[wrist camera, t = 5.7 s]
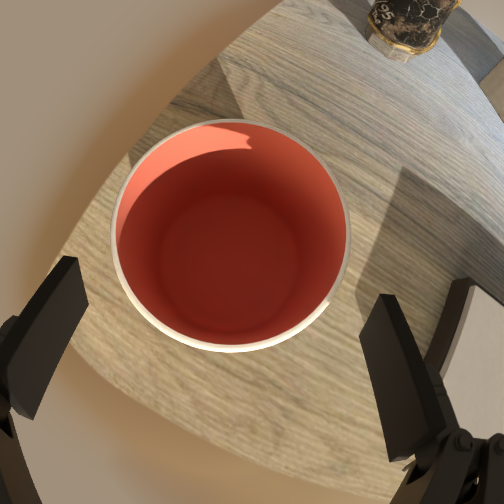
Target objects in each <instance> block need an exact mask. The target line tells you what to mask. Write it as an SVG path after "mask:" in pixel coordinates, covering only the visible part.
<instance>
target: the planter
mask: <svg viewBox="0 0 504 504" xmlns="http://www.w3.org/2000/svg"><path fill="white" fill-rule="evenodd" d="M479 86H480V87H481V89H482V90H483V92H484V93H485V95H486V96H487V98H488V99H489V101H490V102H491V104H492V105H493V107H494V108H495V110H496V111H497V113H498V115H499V116H500V118H501V119H502V121H503V122H504V57H503V58H502V59H501V60H500V61H499V62H498V64H497V65H496V66H495V67H494V68H493V69H492V70H491V71H490V72H489V73H488V74H487V75H486V76H485V77H484V78H483V79H482V80H481V81H480V82H479Z"/></svg>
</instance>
